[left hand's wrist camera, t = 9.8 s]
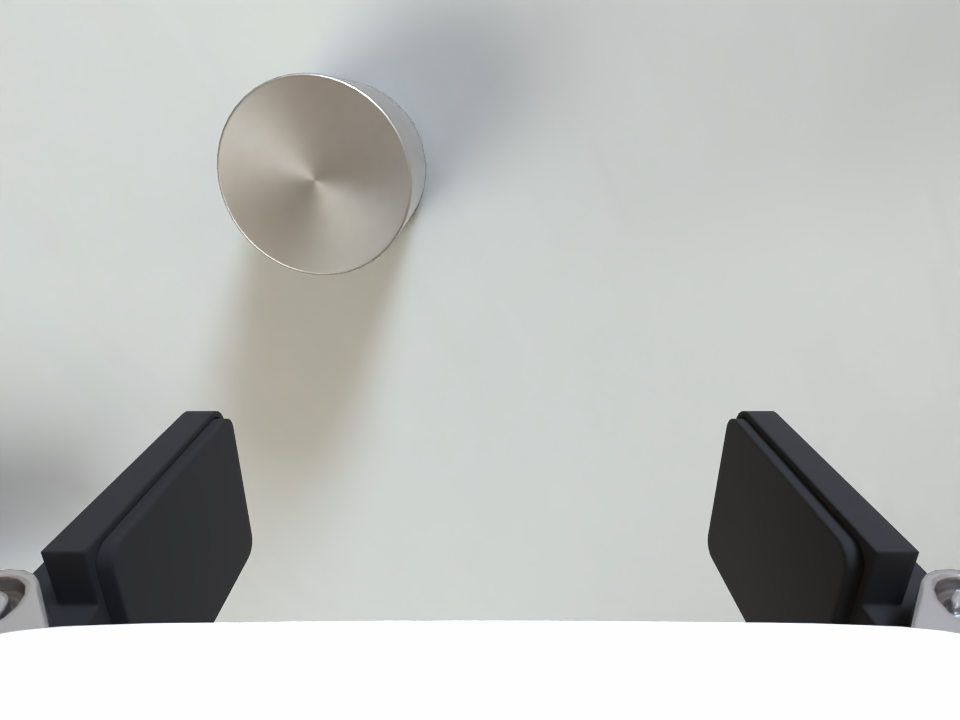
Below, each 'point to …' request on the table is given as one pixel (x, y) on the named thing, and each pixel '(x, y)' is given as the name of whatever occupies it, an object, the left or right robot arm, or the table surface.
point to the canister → (320, 171)
